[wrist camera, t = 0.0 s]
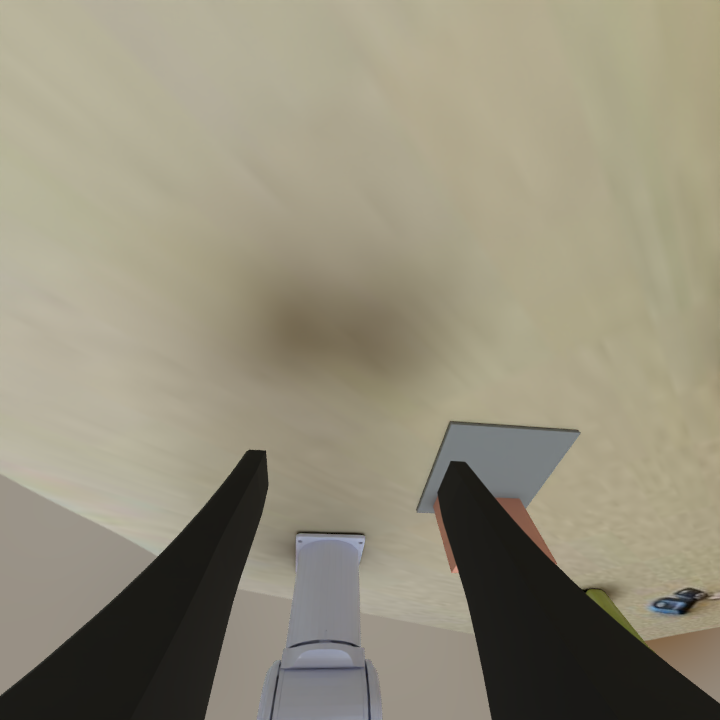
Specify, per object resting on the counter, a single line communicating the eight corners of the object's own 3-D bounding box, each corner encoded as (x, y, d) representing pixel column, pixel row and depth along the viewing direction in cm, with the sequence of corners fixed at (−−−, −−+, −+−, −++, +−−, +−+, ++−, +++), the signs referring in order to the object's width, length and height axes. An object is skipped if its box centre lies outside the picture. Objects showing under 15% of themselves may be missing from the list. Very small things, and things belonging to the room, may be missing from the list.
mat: (518, 513, 31) (520, 516, 30) (416, 509, 30) (417, 512, 29) (578, 430, 24) (580, 432, 24) (450, 421, 23) (451, 424, 23)
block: (511, 509, 30) (546, 574, 24) (433, 506, 29) (451, 572, 24) (519, 498, 29) (557, 563, 23) (438, 495, 28) (458, 561, 23)
